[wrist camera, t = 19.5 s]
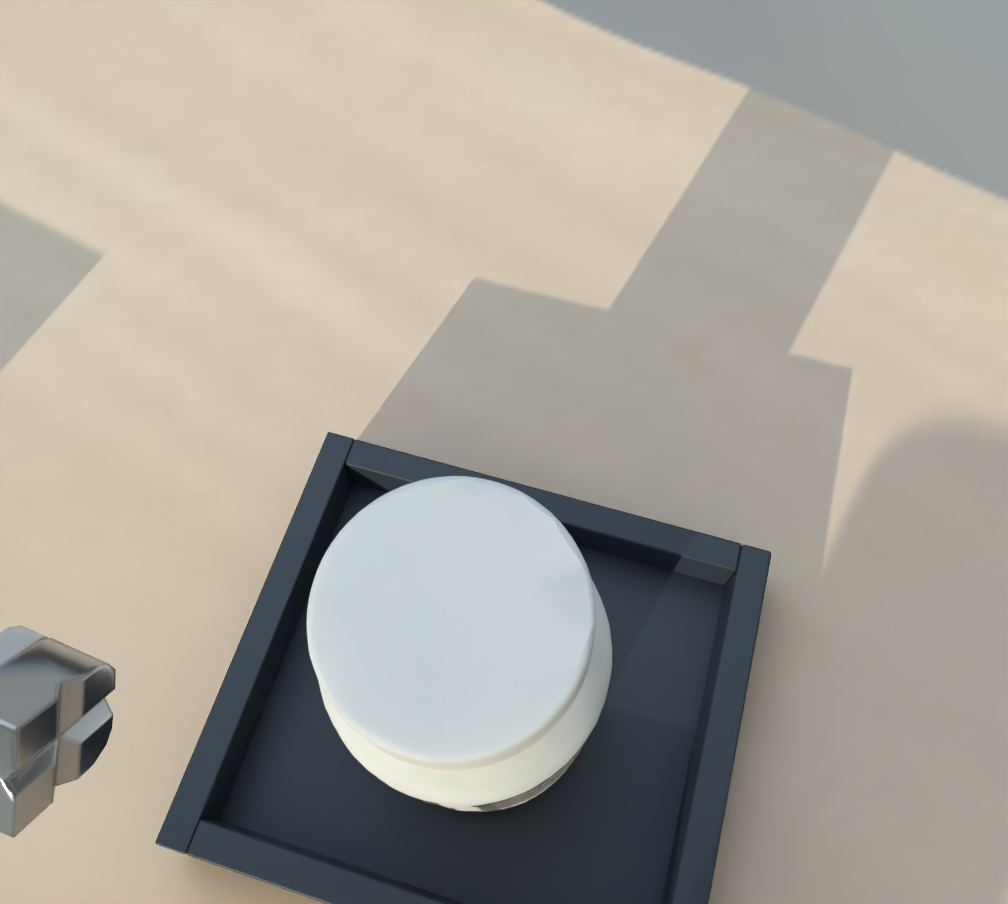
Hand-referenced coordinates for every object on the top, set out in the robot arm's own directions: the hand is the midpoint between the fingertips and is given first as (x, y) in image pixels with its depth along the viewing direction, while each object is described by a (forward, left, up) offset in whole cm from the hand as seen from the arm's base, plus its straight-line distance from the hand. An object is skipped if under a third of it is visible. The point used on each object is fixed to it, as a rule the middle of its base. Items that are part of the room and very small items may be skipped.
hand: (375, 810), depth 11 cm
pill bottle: (0, -3, -11) cm, 12 cm away
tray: (0, -3, -12) cm, 12 cm away
